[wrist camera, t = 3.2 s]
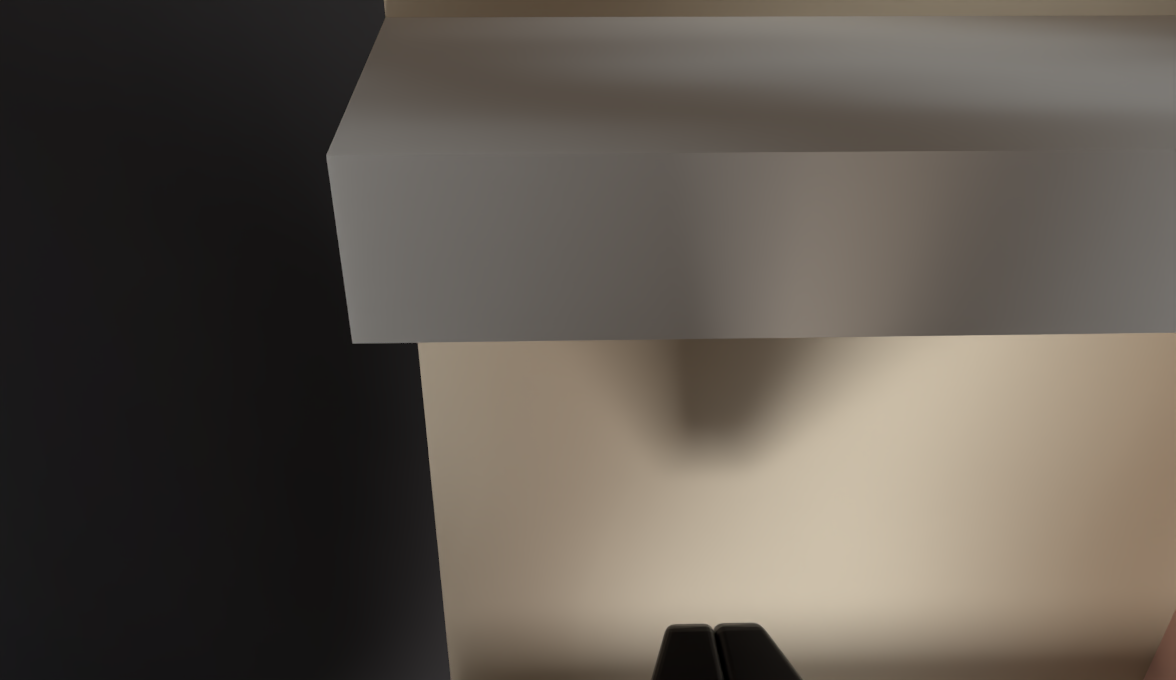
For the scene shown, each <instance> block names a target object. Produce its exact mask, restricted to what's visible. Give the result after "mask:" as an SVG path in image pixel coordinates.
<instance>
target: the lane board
mask: <svg viewBox="0 0 1176 680" xmlns="http://www.w3.org/2000/svg"><path fill="white" fill-rule="evenodd" d="M384 7H385V17H386V18H385V20H384V22H383V25H382V27H381V29H380V32H379V34H378V36H377V39H376V41H375V43H374V45H373V48H372V50H371V52H370V55H369V57H368V59H367V62H366V64H365V66H364V69H363V71H362V73H361V76H360V78H359V80H358V83H357V85H356V87H355V90H354V92H353V94H352V97H351V99H350V101H349V104H348V106H347V108H346V110H345V113H344V115H343V117H342V120H341V122H340V124H339V127H338V129H337V131H336V134H335V136H334V138H333V141H332V143H331V145H330V148H329V150H328V152H327V155H326V158H327V165H328V172H329V179H330V187H331V194H332V201H333V208H334V215H335V222H336V229H337V237H338V244H339V251H340V258H341V265H342V272H343V279H344V287H345V294H346V301H347V308H348V315H349V322H350V329H351V337H352V344H355V343H418V351H419V361H420V372H421V382H422V392H423V402H424V412H425V422H426V432H427V443H428V453H429V463H430V473H431V483H432V493H433V503H434V514H435V524H436V534H437V544H438V554H439V564H440V574H441V585H442V595H443V605H444V615H445V625H446V635H447V645H448V655H449V666H450V676H451V680H651V678H652V674H653V671H654V667H655V664H656V660H657V657H658V653H659V650H660V646H661V643H662V639H663V636H664V633H665V630H666V628H667V627H668V626H670V625H672V624H702V623H704V624H708V625H710V626H711V627H712V629H714V627H715V626H716V625H718V624H720V623H747V622H752V623H757V624H759V625H761V626H762V627H763V628H764V629H765V630H766V631H767V633H768V634H769V635H770V636H771V638H772V639H773V640H774V642H775V643H776V644H777V646H778V647H779V648H780V650H781V651H782V652H783V654H784V655H785V656H786V658H787V659H788V660H789V662H790V663H791V664H792V666H793V667H794V668H795V670H796V671H797V672H798V673H799V675H800V676H801V677H802V679H803V680H1143V679H1144V677H1145V675H1146V673H1147V671H1148V668H1149V666H1150V664H1151V662H1152V660H1153V658H1154V655H1155V653H1156V651H1157V649H1158V647H1159V645H1160V642H1161V640H1162V638H1163V636H1164V634H1165V631H1166V629H1167V627H1168V625H1169V623H1170V621H1171V618H1172V616H1173V614H1174V612H1175V610H1176V0H384Z"/></svg>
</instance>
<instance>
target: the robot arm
mask: <svg viewBox="0 0 1176 680" xmlns="http://www.w3.org/2000/svg"><path fill="white" fill-rule="evenodd" d="M651 680H803V679H802V677H801V676H800V675H799V673H798V672H797V671H796V670H795V668H794V667H793V666H792V664H791V663H790V662H789V660H788V659H787V658H786V656H785V655H784V654H783V652H782V651H781V650H780V648H779V647H778V646H777V644H776V643H775V642H774V640H773V639H772V638H771V636H770V635H769V634H768V633H767V631H766V630H765V629H764V628H763V627H762V626H761V625H759V624H757V623H752V622H747V623H720V624H718V625H716V626H715V627H714V629H712V627H711V626H710V625H708V624H704V623H702V624H672V625H670V626H668V627H667V628H666V630H665V633H664V636H663V639H662V643H661V646H660V650H659V653H658V657H657V660H656V664H655V667H654V671H653V674H652V678H651Z"/></svg>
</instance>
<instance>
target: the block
mask: <svg viewBox="0 0 1176 680" xmlns="http://www.w3.org/2000/svg"><path fill="white" fill-rule="evenodd" d="M1143 680H1176V610H1175V612H1174V614H1173V616H1172V618H1171V621H1170V623H1169V625H1168V627H1167V629H1166V631H1165V634H1164V636H1163V638H1162V640H1161V642H1160V645H1159V647H1158V649H1157V651H1156V653H1155V655H1154V658H1153V660H1152V662H1151V664H1150V666H1149V668H1148V671H1147V673H1146V675H1145V677H1144V679H1143Z"/></svg>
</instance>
